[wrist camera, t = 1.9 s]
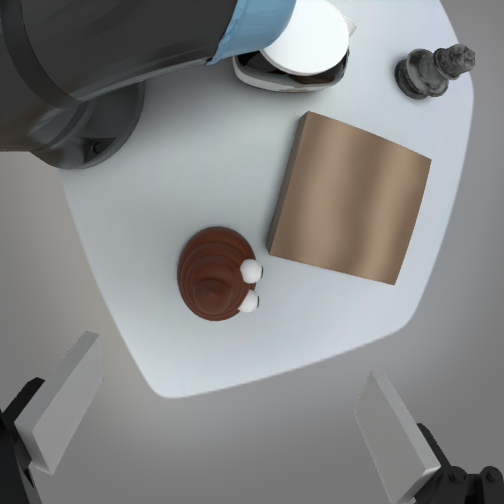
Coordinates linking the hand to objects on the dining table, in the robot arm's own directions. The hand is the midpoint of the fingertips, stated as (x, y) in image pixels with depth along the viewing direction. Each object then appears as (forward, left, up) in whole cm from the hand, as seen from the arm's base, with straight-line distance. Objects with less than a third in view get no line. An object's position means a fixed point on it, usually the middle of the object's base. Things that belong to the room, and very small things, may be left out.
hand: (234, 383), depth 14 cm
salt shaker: (+15, +26, -21) cm, 37 cm away
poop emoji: (-2, -2, -21) cm, 21 cm away
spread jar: (-1, +24, -21) cm, 32 cm away
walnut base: (+10, +9, -21) cm, 25 cm away
